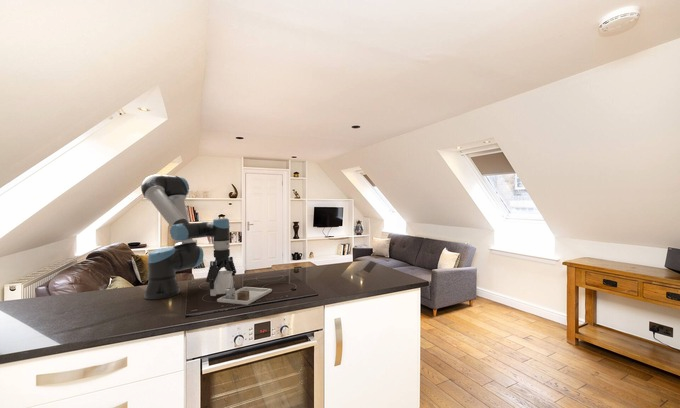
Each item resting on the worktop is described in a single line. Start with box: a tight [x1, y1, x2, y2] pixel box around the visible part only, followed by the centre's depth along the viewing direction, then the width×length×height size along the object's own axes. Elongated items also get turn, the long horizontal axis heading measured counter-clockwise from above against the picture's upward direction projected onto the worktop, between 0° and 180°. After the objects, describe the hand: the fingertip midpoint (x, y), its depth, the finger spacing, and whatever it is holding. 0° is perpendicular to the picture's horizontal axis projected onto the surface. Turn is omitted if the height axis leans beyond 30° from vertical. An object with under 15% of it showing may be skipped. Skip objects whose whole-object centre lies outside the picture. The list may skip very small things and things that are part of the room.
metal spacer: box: [225, 287, 236, 300], centre depth 131 cm, size 4×4×5 cm
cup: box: [215, 270, 232, 295], centre depth 143 cm, size 10×10×11 cm
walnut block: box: [237, 291, 249, 301], centre depth 129 cm, size 4×4×4 cm
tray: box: [216, 286, 273, 306], centre depth 135 cm, size 16×20×2 cm
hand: (222, 291), depth 143 cm, fingers open, 12 cm apart
